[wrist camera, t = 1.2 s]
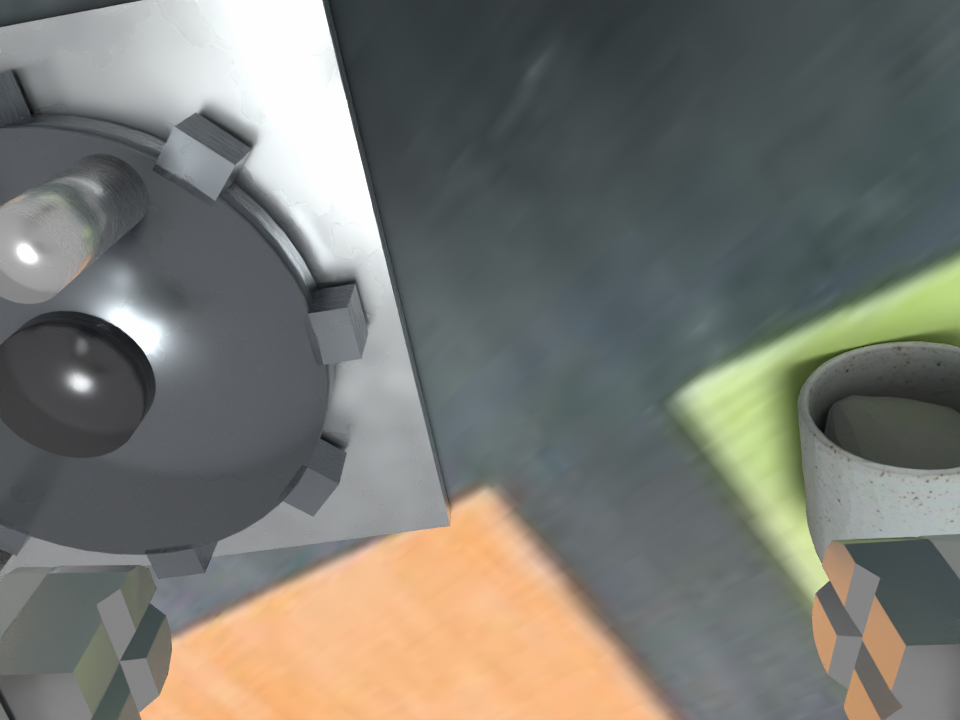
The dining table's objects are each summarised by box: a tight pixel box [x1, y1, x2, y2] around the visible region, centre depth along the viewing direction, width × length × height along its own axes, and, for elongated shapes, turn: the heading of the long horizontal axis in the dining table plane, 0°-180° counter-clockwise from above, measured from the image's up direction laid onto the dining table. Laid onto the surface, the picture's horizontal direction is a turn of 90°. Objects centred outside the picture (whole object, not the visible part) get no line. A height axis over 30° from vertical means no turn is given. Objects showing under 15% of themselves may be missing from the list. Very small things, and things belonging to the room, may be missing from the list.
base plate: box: [0, 0, 451, 581], centre depth 28 cm, size 22×22×4 cm
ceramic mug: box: [797, 341, 960, 563], centre depth 29 cm, size 11×8×8 cm
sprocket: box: [0, 70, 369, 579], centre depth 25 cm, size 20×20×8 cm
